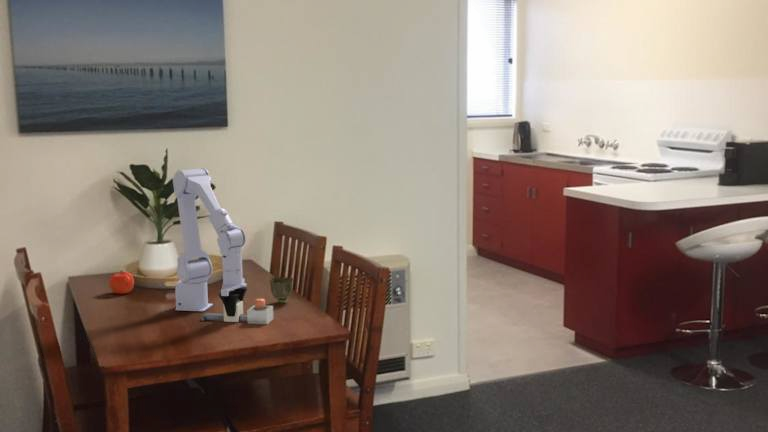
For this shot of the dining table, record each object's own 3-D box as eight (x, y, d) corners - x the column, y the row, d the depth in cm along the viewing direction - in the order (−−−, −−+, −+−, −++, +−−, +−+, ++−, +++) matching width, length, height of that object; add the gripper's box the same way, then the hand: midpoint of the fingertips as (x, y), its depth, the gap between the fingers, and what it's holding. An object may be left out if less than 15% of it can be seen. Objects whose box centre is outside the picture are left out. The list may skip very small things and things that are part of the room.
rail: (201, 320, 239) (200, 315, 239) (206, 316, 244) (206, 311, 244) (247, 322, 237) (247, 317, 237) (252, 318, 241) (252, 313, 241)
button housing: (247, 323, 236) (246, 310, 236) (253, 317, 242) (253, 305, 241) (267, 324, 235) (266, 311, 235) (273, 318, 241) (273, 305, 240)
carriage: (223, 321, 238) (223, 303, 237) (229, 317, 243) (228, 299, 242) (238, 322, 237) (237, 303, 236) (243, 317, 242) (242, 299, 241)
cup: (289, 306, 255) (288, 281, 253) (267, 305, 256) (266, 281, 255) (296, 300, 262) (295, 276, 261) (275, 299, 263) (274, 275, 262)
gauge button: (253, 308, 237) (253, 300, 236) (256, 305, 240) (256, 298, 239) (263, 308, 236) (263, 301, 236) (266, 305, 239) (266, 298, 239)
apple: (139, 292, 275) (138, 269, 274) (120, 297, 268) (119, 273, 267) (124, 289, 279) (122, 266, 278) (105, 294, 272) (103, 271, 271)
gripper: (236, 275, 230) (238, 321, 232) (253, 264, 244) (255, 307, 246) (213, 274, 231) (215, 320, 233) (231, 263, 245) (233, 307, 247)
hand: (234, 313), depth 240 cm, fingers closed on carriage, 5 cm apart
